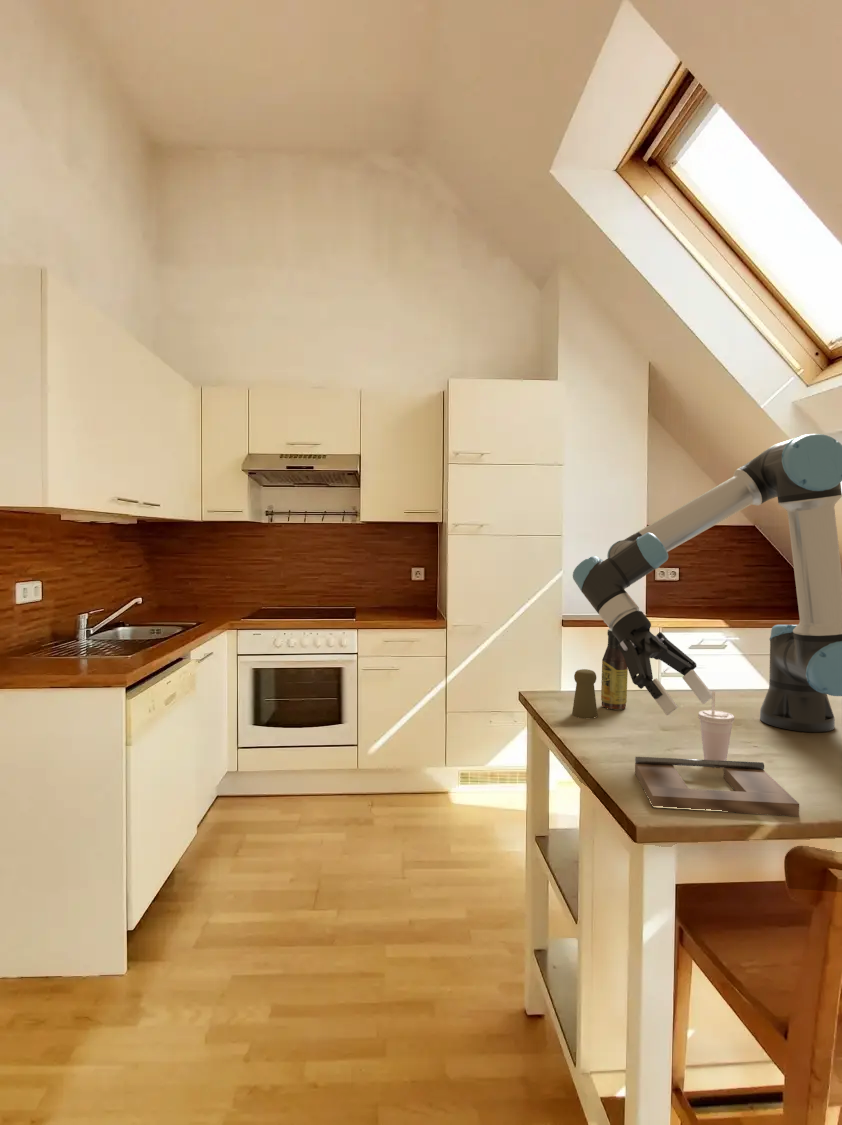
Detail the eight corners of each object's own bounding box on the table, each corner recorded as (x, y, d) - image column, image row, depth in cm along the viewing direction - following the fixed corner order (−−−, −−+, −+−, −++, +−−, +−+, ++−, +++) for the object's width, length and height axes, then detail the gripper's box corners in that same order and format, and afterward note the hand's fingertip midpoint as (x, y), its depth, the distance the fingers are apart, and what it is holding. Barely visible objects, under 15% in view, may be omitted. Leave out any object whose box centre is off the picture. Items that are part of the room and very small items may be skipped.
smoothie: (701, 756, 134) (703, 686, 133) (736, 763, 130) (738, 690, 129) (693, 765, 129) (694, 692, 128) (729, 772, 125) (731, 697, 124)
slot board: (761, 779, 122) (761, 768, 121) (798, 816, 106) (799, 803, 106) (634, 773, 125) (635, 762, 124) (652, 808, 109) (652, 795, 109)
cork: (598, 719, 160) (599, 673, 160) (572, 717, 161) (572, 671, 161) (596, 712, 166) (597, 668, 166) (571, 711, 167) (572, 666, 167)
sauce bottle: (598, 704, 174) (599, 627, 173) (622, 704, 174) (624, 627, 173) (604, 711, 167) (605, 631, 167) (630, 711, 167) (631, 631, 166)
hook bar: (761, 768, 122) (761, 761, 122) (764, 770, 120) (764, 763, 120) (635, 762, 125) (635, 755, 124) (636, 764, 123) (636, 757, 123)
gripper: (646, 626, 153) (709, 705, 142) (578, 636, 137) (642, 727, 126) (669, 604, 148) (735, 685, 138) (601, 613, 132) (669, 705, 122)
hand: (691, 705), depth 132 cm, fingers open, 13 cm apart
